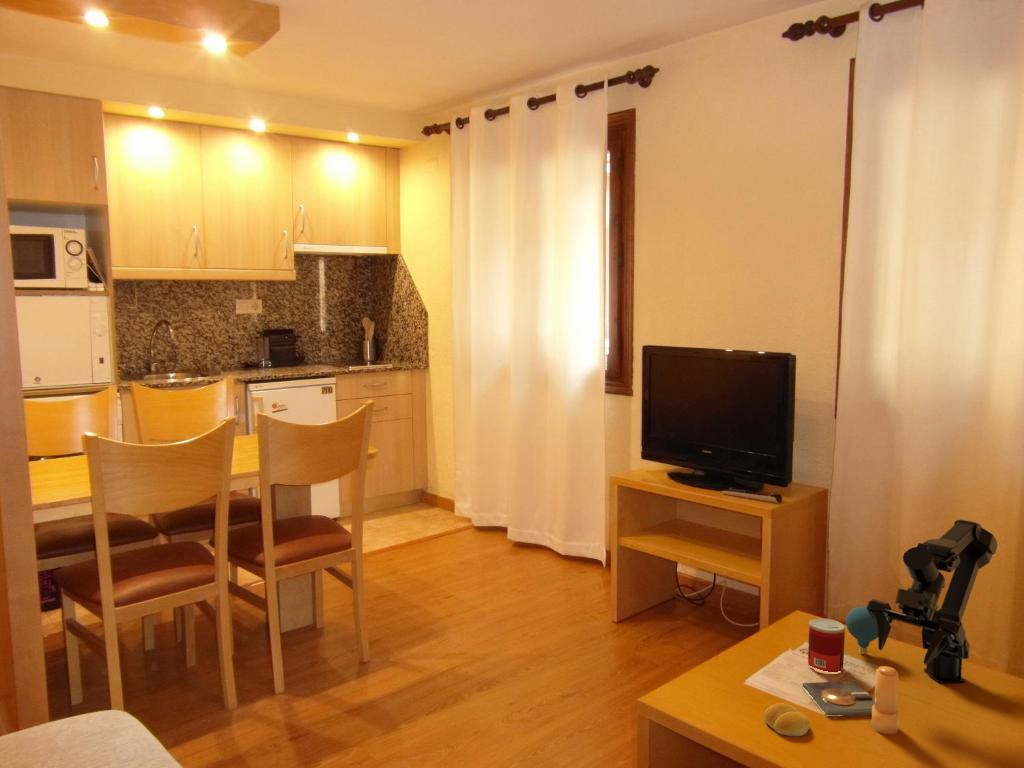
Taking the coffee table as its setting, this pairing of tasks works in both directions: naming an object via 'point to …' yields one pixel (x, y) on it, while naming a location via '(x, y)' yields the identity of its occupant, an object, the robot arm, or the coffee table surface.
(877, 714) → the tapered peach knob
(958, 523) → the robot arm
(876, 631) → the light bulb
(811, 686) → the plate
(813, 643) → the canned food
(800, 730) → the bread roll
